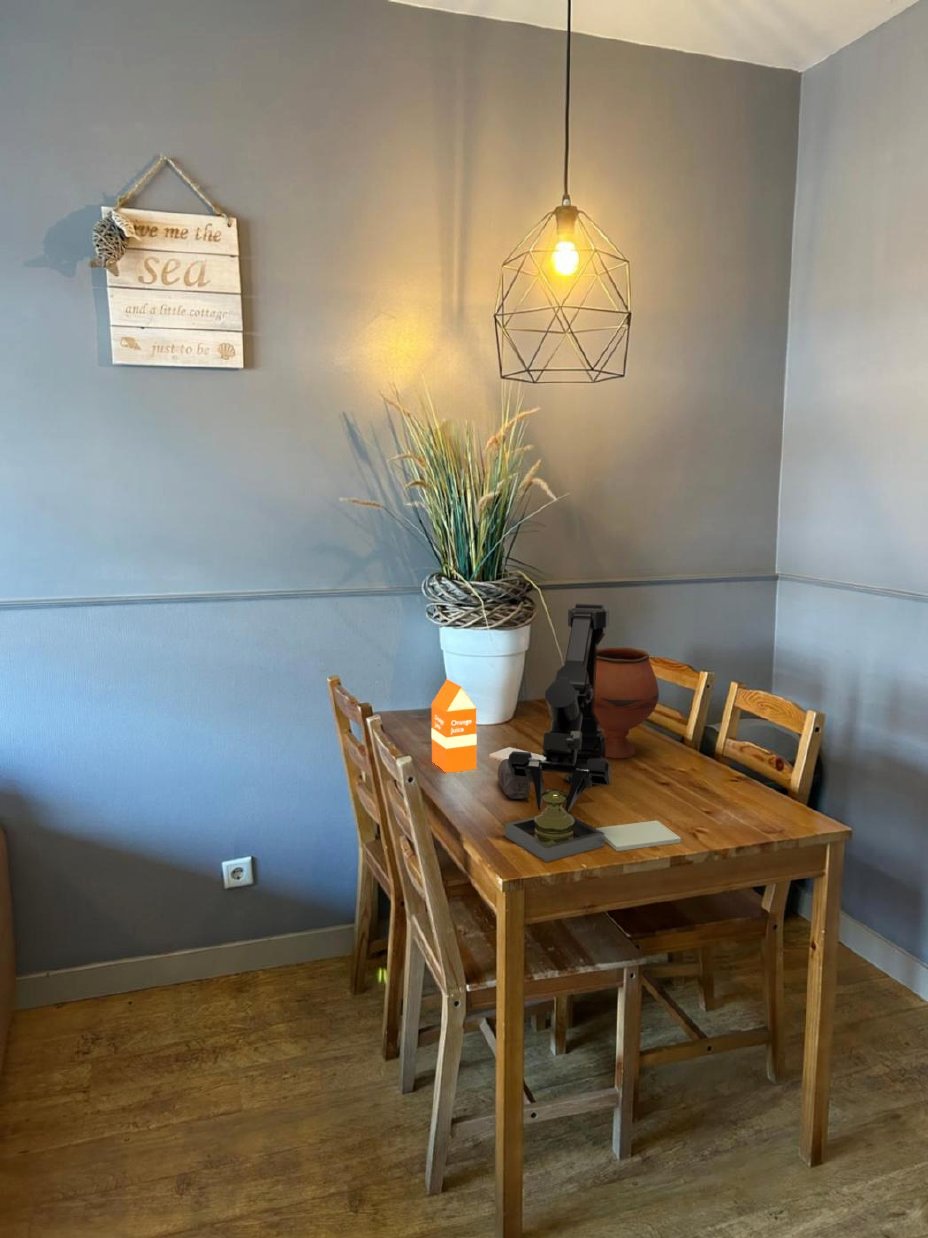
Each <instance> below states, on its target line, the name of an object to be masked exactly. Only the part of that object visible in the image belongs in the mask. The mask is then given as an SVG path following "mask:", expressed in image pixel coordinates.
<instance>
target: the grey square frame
mask: <svg viewBox="0 0 928 1238" xmlns="http://www.w3.org/2000/svg"><path fill="white" fill-rule="evenodd" d="M572 817H573V818H574V827H573V830H574V835H576V836H578V837H574V839H570V840H567V841H563V842H559V843H555V844H551V845H546V844H544V843H543V842H541V841H539V840H538V839H536V838H534V836H532V835H531V834H532V833H534V829H535V827H536V826H535V824H534V818H535V816H532V817H530V818H525V819H524V818H523V819H521V820H516V821H512V822H508V823H504V825H505V826H504V837H505V838H506V839H508V840H509V841H511V842H513V843H514V844H516V845H518V846H520V847H521V848H522V849H524V850H526V851H527V852H529V853H531V854H532V855H534V856H535V857H537V858H539V859H540V860H541V861H544V862H545V863H548V862H552V861H556V860H560V859H563V858H567V857H571V856H575V855H579V854H581V853H585V852H589V851H593V850H596V849H601V848H604V847H605V840H604V834H605V833H603V832H601V831H599V830H597V829H595V827H593V826H591V825H589V824H587V823H586V822H584V821H582V820H579V819H578V818H576V817H574V816H572Z"/></svg>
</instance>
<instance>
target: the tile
mask: <svg viewBox="0 0 928 1238" xmlns="http://www.w3.org/2000/svg"><path fill="white" fill-rule="evenodd" d="M594 828H595V827H594ZM595 829H597V830H599V831H601V832H603V833H605V834H604V842H606V843H607V844H608V845H609V846H610V847H611V848H613V850H615V851H616V852H621V851H627V850H634V849H642V848H643V849H644V848H651V847H656V846H657V847H658V846H666V845H672V844H679V843H681V842H682V838H681V837H680V836H679V835H677V834H676V833H674V832H673V831H672V830H670V829H669V828H668V827H667V826H666V825H664V824H663V823H661V822H660V821H659V820H649V821H642V822H634V823H626V824H618V825H609V826H603V827H596V828H595ZM681 844H682V843H681Z"/></svg>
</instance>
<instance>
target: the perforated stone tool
mask: <svg viewBox="0 0 928 1238" xmlns="http://www.w3.org/2000/svg"><path fill="white" fill-rule="evenodd" d="M497 768H498V769H497V779H498V782H499V785H500V786H501V788H502V790H503V792H504V794H506V795H507V796H508V797H509V798H510V799H513V800H518V799H520V800H523V799H525V798H527V797H528V796H529V795H530V792H531V782H530V781H528V778H524V777H515V776H513V775H512V773H511V771H510V768H509V765H508V759H504V760H502V761H500V764H499V765H498V767H497Z"/></svg>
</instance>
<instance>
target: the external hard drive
mask: <svg viewBox="0 0 928 1238" xmlns="http://www.w3.org/2000/svg"><path fill="white" fill-rule="evenodd" d="M513 751H518V752H529V753H531V755H532V758H534V759H539V760H542V761H545V759H546V757H544V756H543V754H537V753H533V752H530V751H526V750H522V749H518V748H514V747H510V746H508V747H506V748H503V749H500V750H497V751H494V752H492V753H490V754H489V757H488V759H490V758H493V759H492V760H494V759H497V760H496V761H498V760H500V761H499V762H501V761H502V760H504V759H509V755H510V754H511V753H512V752H513Z"/></svg>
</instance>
